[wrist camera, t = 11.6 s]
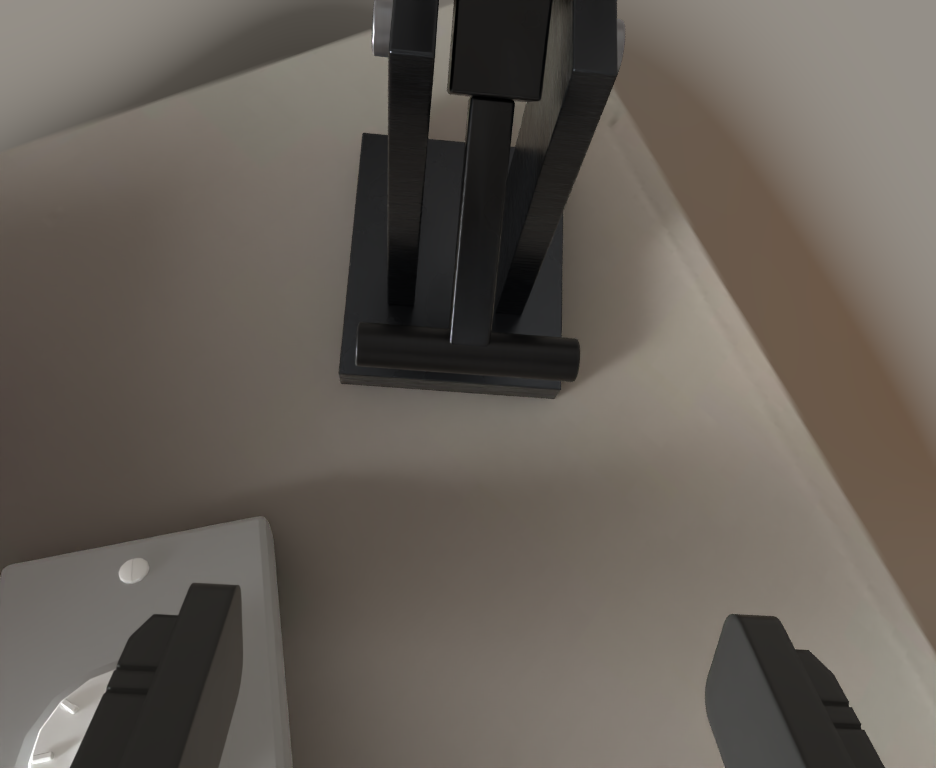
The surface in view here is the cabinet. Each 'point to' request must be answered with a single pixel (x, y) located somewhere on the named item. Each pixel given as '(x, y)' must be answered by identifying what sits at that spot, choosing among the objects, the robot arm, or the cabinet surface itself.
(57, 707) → the light switch
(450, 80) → the lever
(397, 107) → the bracket
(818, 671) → the robot arm
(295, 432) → the cabinet surface
